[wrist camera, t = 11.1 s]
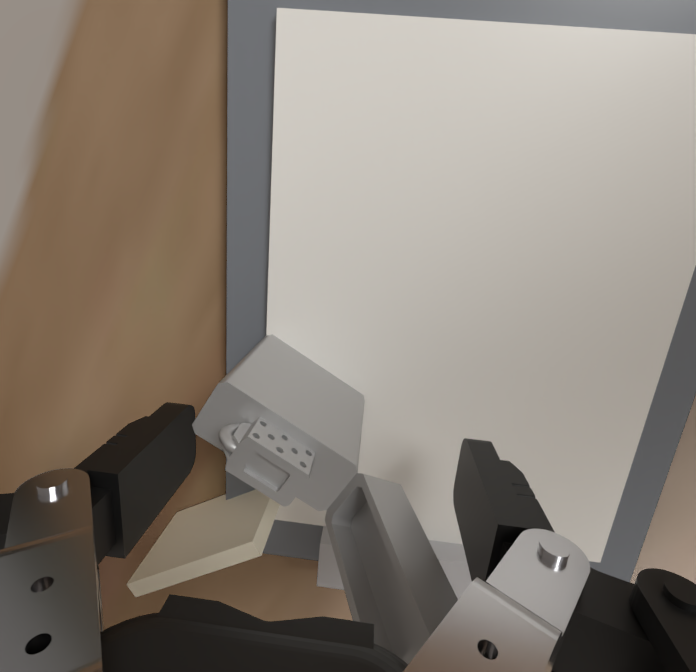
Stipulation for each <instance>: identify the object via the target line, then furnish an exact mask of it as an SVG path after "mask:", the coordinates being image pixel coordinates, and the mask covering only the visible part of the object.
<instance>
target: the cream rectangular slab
mask: <svg viewBox="0 0 696 672" xmlns="http://www.w3.org/2000/svg"><path fill="white" fill-rule="evenodd" d="M279 506H280V504H279V503H277V502H276V501H274V500H272V499H271V498H269V497H268V496H266V495H264V494H263V493H261V492H260V491H258V490H253V491H250V492H247V493H245V494H242V495H239V496H237V497H234V498H231V499H228V500H226V494H225V495H222V496H219V497H217V498H214V499H211V500H209V501H206V502H203V503H200V504H198V505H195V506H192V507H190V508H187V509H184V510H182V511H179V512H177V513H176V514H175V515H174V517H173V518H172V520H171V521H170V523H169V524H168V525H167V527H166V528H165V530H164V531H163V533H162V534H161V535H160V537H159V538H158V540H157V541H156V543H155V544H154V545H153V547H152V548H151V550H150V551H149V553H148V554H147V555H146V557H145V558H144V560H143V561H142V563H141V564H140V565H139V567H138V568H137V570H136V571H135V573H134V574H133V575H132V577H131V578H130V580H129V581H128V583H127V584H126V585H127V586H128V587H129V589H130V590H131V592H132V593H133V594H134V596H135V597H139V596H142V595H145V594H148V593H151V592H154V591H157V590H160V589H163V588H166V587H169V586H172V585H175V584H178V583H181V582H184V581H187V580H190V579H193V578H196V577H199V576H202V575H205V574H208V573H211V572H214V571H217V570H220V569H223V568H226V567H229V566H232V565H235V564H238V563H241V562H244V561H247V560H250V559H253V558H256V557H259V556H262V553H263V550H264V547H265V545H266V542H267V539H268V536H269V534H270V531H271V528H272V525H273V522H274V520H275V517H276V514H277V511H278V509H279Z"/></svg>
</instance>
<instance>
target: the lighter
mask: <svg viewBox="0 0 696 672" xmlns="http://www.w3.org/2000/svg"><path fill="white" fill-rule="evenodd" d="M364 404H365V400H364V395H363V394H361V393H360V392H358V391H357V390H355V389H354V388H352V387H351V386H349V385H348V384H346V383H345V382H343V381H342V380H340V379H339V378H337V377H336V376H334V375H333V374H331V373H330V372H328V371H327V370H325V369H324V368H322V367H321V366H319V365H318V364H316V363H315V362H313V361H312V360H310V359H309V358H307V357H306V356H304V355H303V354H301V353H300V352H298V351H297V350H295V349H294V348H292V347H291V346H289V345H288V344H286V343H285V342H283V341H282V340H280V339H279V338H277V337H276V336H274V335H273V334H272V335H266V336H265V337H264V338H263V339H262V340H261V341H260V342H259V343H258V344H257V345H256V346H255V347H254V348H253V349H252V350H251V351H250V352H249V353H248V354H247V355H246V356H245V357H244V358H243V359H242V360H241V361H240V362H239V363H238V364H237V365H236V366H235V367H234V368H233V369H232V370H231V371H230V372H229V373H228V374H227V375H226V376H225V377H224V378H223V379H222V380H221V381H220V382H219V383H218V385H217V386H216V388H215V389H214V391H213V392H212V394H211V396H210V397H209V399H208V400H207V402H206V404H205V405H204V407H203V408H202V410H201V411H200V413H199V415H198V416H197V418H196V419H195V421H194V422H193V424H192V426H193V430H194V433H195V434H196V435H198V436H200V437H201V438H203V439H204V440H206V441H208V442H209V443H211V444H212V445H214V446H215V447H217V448H219V449H220V450H222V451H223V452H224V453H225V455H226V457H227V464H226V467H225V470H226V471H227V472H229V473H231V474H232V475H234V476H235V477H237V478H239V479H240V480H242V481H243V482H245V483H247V484H248V485H250V486H252V487H253V488H255V489H256V490H258V491H260V492H261V493H263V494H264V495H266V496H268V497H269V498H271V499H272V500H274V501H276V502H277V503H279V504H280V505H282V506H284V507H285V506H289V505H290V504H291V502H292V501H293V500H294V499H295V497H297V498H298V499H300V500H301V501H303V502H305V503H306V504H308V505H309V506H311V507H313V508H314V509H316V510H317V511H324V510H327V511H326V516H325V523H326V526H327V530H328V533H329V537H330V540H331V544H332V547H333V551H334V555H335V558H336V562H337V565H338V569H339V572H340V576H341V579H342V583H343V587H344V590H345V594H346V597H347V601H348V604H349V608H350V611H351V615H352V619H353V621H357V622H364V623H371V624H374V643H375V644H377V645H379V646H381V647H383V648H385V649H387V650H389V651H390V652H392V653H394V654H395V655H397V656H398V657H399V658H401V659H402V660H403V661H405V662H406V663H407V664H409V663H410V662H411V661H412V659H413V658H414V657H415V655H416V654H417V653H418V651H419V650H420V649H421V648H422V646H423V645H424V644H425V642H426V641H427V640H428V638H429V637H430V636H431V635H432V633H433V632H434V631H435V629H436V628H437V627H438V625H439V624H440V623H441V622H442V620H443V619H444V618H445V616H446V615H447V614H448V612H449V611H450V610H451V609H452V607H453V606H454V605H455V603H456V602H457V601H458V599H457V597H456V595H455V593H454V590H453V588H452V586H451V584H450V582H449V580H448V578H447V576H446V574H445V572H444V570H443V568H442V566H441V564H440V562H439V560H438V558H437V556H436V554H435V552H434V550H433V548H432V546H431V544H430V542H429V540H428V538H427V536H426V534H425V532H424V530H423V528H422V526H421V524H420V522H419V520H418V518H417V516H416V514H415V512H414V510H413V508H412V506H411V504H410V502H409V500H408V498H407V496H406V494H405V492H404V490H403V488H402V486H401V484H397V483H394V482H390V481H387V480H383V479H380V478H376V477H373V476H369V475H366V474H362V473H358V463H359V454H360V444H361V434H362V424H363V414H364Z"/></svg>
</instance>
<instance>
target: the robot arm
mask: <svg viewBox="0 0 696 672" xmlns="http://www.w3.org/2000/svg"><path fill="white" fill-rule="evenodd" d="M194 421H195V410H194V407H193V406H192V405H185V404H177V403H168V402H167V403H165V404H163V405H162V406H161V407H160V408H159V409H158V410H156V411H155V412H154V413H153V414H152V415H151V416H149V417H147V416H145V417H143V418H141V419H139V420H136V421H134V422H132V423H130V424H128V425H127V426H125V427H124V428H123V429H122V430H120V431H119V432H118V433H117V434H116V436H113V437H112V438H111V439H109V440H108V441H107V443H106V444H103V445H102V446H101V447H100V448H98V449H97V450H96V451H95V452H94V453H92V454H91V455H90V456H89V457H87V458H86V459H85V460H84V461H82V462H81V463H80V464H79V465H78V466H76V467H75V468H74V469H72V468H66V469H57V470H52V471H48V472H45V473H42V474H39V475H37V476H35V477H33V478H31V479H29V480H27V481H26V482H24V483H23V484H22V485H20V486H19V487H18V488H17V490H16V491H15V493H10V494H0V672H696V584H694V583H693V582H691V581H689V580H688V579H686V578H684V577H682V576H679V575H677V574H675V573H672V572H669V571H666V570H661V569H654V568H651V569H644V570H642V571H640V573H639V574H638V576H637V579H636V581H635V584H632V583H630V582H627V581H624V580H621V579H619V578H616V577H613V576H610V575H607V574H605V573H602V572H600V571H597V570H595V569H593V568H591V567H590V563H589V560H588V558H587V557H586V555H585V554H584V552H583V551H582V550H581V549H580V548H579V547H578V546H577V545H575V544H574V543H573V542H571V541H570V540H569V539H567V538H565V537H563V536H561V535H559V534H557V533H555V532H554V530H553V528H552V526H551V524H550V522H549V520H548V519H547V517H546V515H545V513H544V511H543V509H542V507H541V506H540V504H539V502H538V500H537V499H535V494H534V493H533V491H532V489H531V488H530V485H529V483H528V481H527V480H526V478H525V476H524V474H523V473H522V472H521V471H520V470H519V469H518V468H517V467H516V466H515V465H513V464H512V463H511V462H510V461H505V460H500V458H499V456H498V454H497V452H496V450H495V448H494V446H493V444H492V442H491V441H484V440H476V439H467V438H464V439H463V441H462V445H461V450H460V455H459V460H458V466H457V471H456V477H455V482H454V490H453V503H454V509H455V513H456V518H457V522H458V526H459V530H460V534H461V539H462V543H463V547H464V551H465V555H466V559H467V564H468V568H469V572H470V576H471V580H472V583H471V584H470V585H469V586H468V588H467V589H466V590H465V592H464V593H463V594H462V595H461V597H460V598H459V599H458V601H457V602H456V603H455V605H454V606H453V607H452V609H451V610H450V611H449V612H448V614H447V615H446V616H445V618H444V619H443V620H442V622H441V623H440V624H439V625H438V627H437V628H436V629H435V631H434V632H433V633H432V635H431V636H430V637H429V638H428V640H427V641H426V642H425V644H424V645H423V646H422V648H421V649H420V650H419V651H418V653H417V654H416V655H415V657H414V658H413V659H412V661H411V662H410V663H409V664H407V663H406V662H405V661H403V660H402V659H401V658H399V657H398V656H397V655H395V654H394V653H392V652H390V651H389V650H387V649H385V648H383V647H381V646H379V645H377V644H375V643H374V624H371V623H364V622H357V621H350V620H343V619H336V618H329V617H314V618H304V619H294V620H284V621H274V622H268V621H263V620H260V619H258V618H256V617H254V616H251V615H249V614H247V613H244V612H242V611H240V610H237V609H235V608H233V607H230V606H228V605H226V604H224V603H221V602H219V601H212V600H205V599H198V598H191V597H184V596H177V595H169V597H168V598H167V600H166V602H165V604H164V605H163V607H162V609H161V611H160V613H152V614H148V615H143V616H139V617H135V618H132V619H129V620H126V621H124V622H121V623H119V624H116V625H114V626H112V627H110V628H108V629H106V630H104V624H103V612H102V599H101V587H100V575H99V565H98V564H99V563H100V562H101V561H102V559H103V558H104V557H105V556H110V557H117V558H124V559H125V558H126V556H127V555H128V554H129V552H130V551H131V550H132V548H133V547H134V546H135V545H136V543H137V542H138V541H139V539H140V538H141V537H142V535H143V534H144V533H145V531H146V530H147V529H148V527H149V526H150V525H151V523H152V522H153V521H154V519H155V518H156V517H157V515H158V514H159V513H160V511H161V510H162V509H163V507H164V506H165V505H166V503H167V502H168V501H169V500H170V498H171V497H172V496H173V494H174V493H175V492H176V490H177V489H178V488H179V486H180V485H181V484H182V482H183V481H184V480H185V478H186V477H187V476H188V474H189V473H190V471H191V469H192V467H193V464H194V461H195V455H196V436H195V433H194V430H193V426H192V424H193V422H194Z"/></svg>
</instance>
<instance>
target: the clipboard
mask: <svg viewBox="0 0 696 672" xmlns="http://www.w3.org/2000/svg"><path fill="white" fill-rule="evenodd" d="M272 334H273V335H274V336H276V337H277V338H279V339H280V340H282V341H283V342H285V343H286V344H288V345H289V346H291V347H292V348H294V349H295V350H297V351H298V352H300V353H301V354H303V355H304V356H306V357H307V358H309V359H310V360H312V361H313V362H315V363H316V364H318V365H319V366H321V367H322V368H324V369H325V370H327V371H328V372H330V373H331V374H333V375H334V376H336V377H337V378H339V379H340V380H342V381H343V382H345V383H346V384H348V385H349V386H351V387H352V388H354V389H355V390H357V391H358V392H360V393H361V394H363V395H364V400H365V404H364V414H363V424H362V434H361V444H360V454H359V463H358V473H362V474H366V475H369V476H373V477H376V478H380V479H383V480H387V481H390V482H394V483H397V484H401V486H402V488H403V490H404V492H405V494H406V496H407V498H408V500H409V502H410V504H411V506H412V508H413V510H414V512H415V514H416V516H417V518H418V520H419V522H420V524H421V526H422V528H423V530H424V532H425V534H426V536H427V538H428V540H429V542H430V544H431V546H432V548H433V550H434V552H435V554H436V556H437V558H438V560H439V562H440V564H441V566H442V568H443V570H444V572H445V574H446V576H447V578H448V580H449V582H450V584H451V586H452V588H453V590H454V593H455V595H456V597H457V599H459V598H460V597H461V595H462V594H463V593H464V592H465V590H466V589H467V588H468V586H469V585H470V584H471V583H472V580H471V576H470V572H469V568H468V564H467V559H466V555H465V551H464V547H463V543H462V539H461V534H460V530H459V526H458V522H457V518H456V513H455V509H454V503H453V490H454V482H455V477H456V471H457V466H458V460H459V455H460V450H461V445H462V441H463V439H464V438H467V439H476V440H484V441H491V442H492V444H493V446H494V448H495V450H496V452H497V454H498V456H499V458H500V460H505V461H510V462H511V463H512V464H513V465H515V466H516V467H517V468H518V469H519V470H520V471H521V472H522V473H523V474H524V476H525V478H526V480H527V481H528V483H529V485H530V488H531V489H532V491H533V493H534V494H535V499H537V500H538V502H539V504H540V506H541V507H542V509H543V511H544V513H545V515H546V517H547V519H548V520H549V522H550V524H551V526H552V528H553V530H554V532H555V533H557V534H559V535H561V536H563V537H565V538H567V539H569V540H570V541H571V542H573V543H574V544H575V545H577V546H578V547H579V548H580V549H581V550H582V551H583V552H584V554H585V555H586V557H587V558H588V560H589V563H590V567H591V568H593V569H595V570H597V571H600V572H602V573H605V574H607V575H610V576H613V577H616V578H619V579H621V580H624V581H627V582H630V580H631V577H632V574H633V571H634V568H635V565H636V563H637V560H638V557H639V554H640V551H641V548H642V546H643V543H644V540H645V537H646V534H647V531H648V529H649V526H650V523H651V520H652V517H653V514H654V511H655V509H656V506H657V503H658V500H659V497H660V494H661V492H662V489H663V486H664V483H665V480H666V477H667V474H668V472H669V469H670V466H671V463H672V460H673V457H674V455H675V452H676V449H677V446H678V443H679V440H680V438H681V435H682V432H683V429H684V426H685V423H686V420H687V418H688V415H689V412H690V409H691V406H692V403H693V401H694V398H695V395H696V0H228V98H227V354H226V375H227V374H228V373H229V372H230V371H231V370H232V369H233V368H234V367H235V366H236V365H237V364H238V363H239V362H240V361H241V360H242V359H243V358H244V357H245V356H246V355H247V354H248V353H249V352H250V351H251V350H252V349H253V348H254V347H255V346H256V345H257V344H258V343H259V342H260V341H261V340H262V339H263V338H264V337H265V336H266V335H272ZM226 464H227V457H226ZM253 490H256V489H255V488H253V487H252V486H250V485H248V484H247V483H245V482H243V481H242V480H240V479H239V478H237V477H235V476H234V475H232V474H231V473H229V472H227V471H226V500H228V499H231V498H234V497H237V496H239V495H242V494H245V493H247V492H250V491H253ZM326 511H327V510H324V511H317V510H316V509H314V508H313V507H311V506H309V505H308V504H306V503H305V502H303V501H301V500H300V499H298V498H297V497H295V499H294V500H293V501H292V502H291V504H290V505H289V506H285V507H284V506H282V505H280V506H279V509H278V511H277V514H276V517H275V520H274V522H273V525H272V528H271V531H270V534H269V536H268V539H267V542H266V545H265V547H264V550H263V553H265V554H273V555H280V556H287V557H294V558H302V559H309V560H316V561H319V562H318V575H317V586H320V587H327V588H334V589H341V590H344V587H343V583H342V579H341V576H340V572H339V569H338V565H337V562H336V558H335V555H334V551H333V547H332V544H331V540H330V537H329V533H328V530H327V526H326V523H325V516H326Z"/></svg>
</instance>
